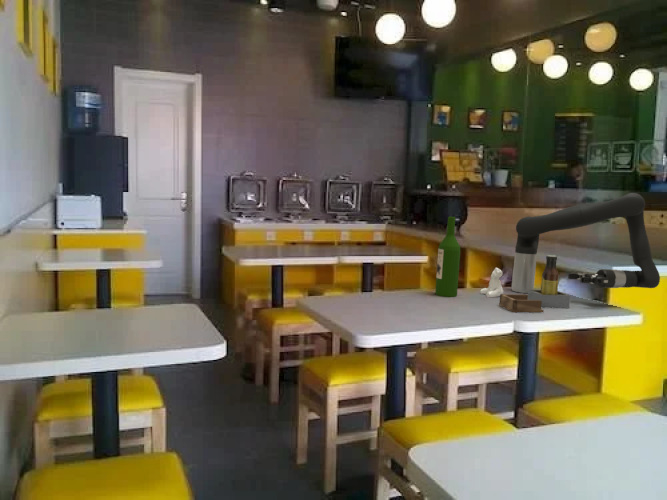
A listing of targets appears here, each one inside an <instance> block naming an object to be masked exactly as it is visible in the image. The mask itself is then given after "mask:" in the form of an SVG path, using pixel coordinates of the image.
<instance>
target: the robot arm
mask: <svg viewBox="0 0 667 500" xmlns="http://www.w3.org/2000/svg"><path fill="white" fill-rule="evenodd" d="M645 208H646V201H645V199H644V197H643V196H642V195H640V194H639V193H636V192H630V193H626V194H625V195H622V196H619V197H618V198H614V199H611V200H607V201H599V202H588V203H581V204H578V205H573V206H569V207H566V208H565V207H564V208H562V209H559V210H555V211H554V212H550V213H548V214H543V215H537V216H525V217H522V218H520V219H519V220H518V221H517V223H516V226H515V230H516V233H517V238H516V243H515V247H514V249H515V250H514V260H513V261H514V262H513V269H512V277H511V278H512V279H511V291H513V292H516V293H520V294H521V293H523V294H528V290H535V280H536V277H535V276H536V267H537V257H538V254H537V253H538V248H539V242H540V235H541V234H545V233H548V232H555V231H564V230H571V229H577V228H581V227H586V226H591V225H593V224H598V223H600V222H603V221H606V220H610V219H615V218H625V220H626V223H627V228H628V235H629V242H630V243H629V244H630V249H631V250H630V251H631V256H632V262H633V264H634V265H635V266H637V267H639V268H640V270H627V269H625V270H624V269H622V270H620V269H613V268H611V269H609V268H608V269H607V268H606V269H605V268H604V269H603V268H600V269H599V270H597V271H596V273H595V272H577V271H576V272H575V273H568V274H567V275H568V277H567V279H568V280H580V281H579V282H580V283H581V284H591V285H595V286H597V287H599V288H601V289H619V288H624V289H625V288H642V289H643V288H644V289H654V288H655V289H656V288H657V287H658V286H659V285H660V282H661V281H660V280H661V277H660V273H659V271H658V267H657V266H656V264H655V262H654V260H653V257H652V251H651V245H650V241H649V238H648V233H647V231H646V225H645V219H644V218H645V217H644V213H645V212H644V209H645Z"/></svg>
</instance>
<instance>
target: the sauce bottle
mask: <svg viewBox="0 0 667 500" xmlns="http://www.w3.org/2000/svg"><path fill="white" fill-rule="evenodd" d="M545 258H546V262H545V264H546V265H545V267H544V270H543V272H542V275H541V284H540V286H541V287H540V290H541V294H543V295H557V291H559V290H558V289H559V271H558V269H557V260H558V256H557V255H554V254H548V255H546V256H545Z"/></svg>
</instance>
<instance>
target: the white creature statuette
mask: <svg viewBox="0 0 667 500" xmlns="http://www.w3.org/2000/svg"><path fill="white" fill-rule="evenodd" d="M502 276H503V271H502V270H501V269H500V268H498V267H495V268H494V269H493V271H492V273H491V275H490V277H491V278H490V280H489V281H488V287H487V288H486V287H484V288H482V289H480V295H486V297H487V298H500V294H504V288H503V286H502V282H501V280H500V278H501V277H502Z"/></svg>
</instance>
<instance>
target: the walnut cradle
mask: <svg viewBox="0 0 667 500" xmlns="http://www.w3.org/2000/svg"><path fill="white" fill-rule="evenodd" d="M527 299H528V294H521V293H520V294H519V293H518V294H514V293H512V294H510V293H508V294H507V293H506V294H505V293H503V294H500V297H499V303H498V305H499V307H501V308H503V309H506V310H508V311H509V312H512V313H517V312H529V313H530V312H543V313H544V309H543V308H541V304H542V301H541V300H527Z"/></svg>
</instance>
